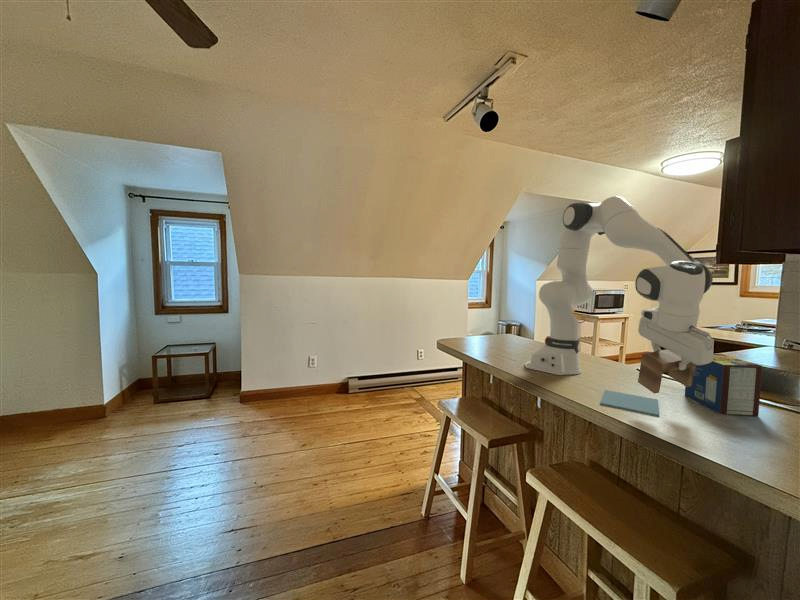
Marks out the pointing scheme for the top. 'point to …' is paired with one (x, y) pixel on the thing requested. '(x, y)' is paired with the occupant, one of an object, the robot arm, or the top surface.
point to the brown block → (663, 369)
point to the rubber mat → (630, 402)
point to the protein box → (727, 386)
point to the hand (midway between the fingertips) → (668, 362)
